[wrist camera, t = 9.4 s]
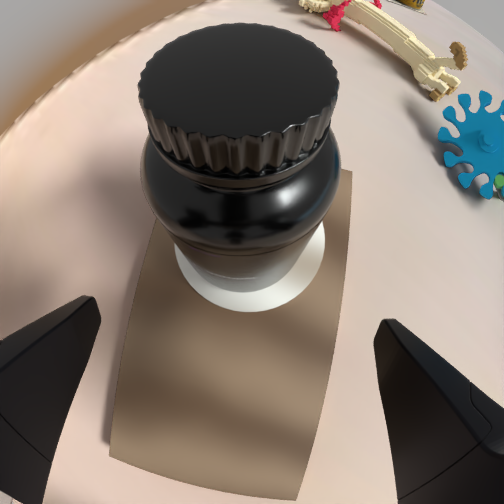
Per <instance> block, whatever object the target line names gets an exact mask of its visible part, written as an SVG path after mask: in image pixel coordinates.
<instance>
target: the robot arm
mask: <svg viewBox="0 0 504 504" xmlns="http://www.w3.org/2000/svg"><path fill="white" fill-rule="evenodd" d="M100 324H101V315H100V312H99V309H98V306H97V302H96V300H95V298H94V297H92V296H86V295H83V296H81V297H79V298H77V299H75V300H73V301H71V302H69V303H67V304H65V305H64V306H62V307H60V308H58V309H56V310H54V311H52V312H51V313H49V314H47V315H45V316H43V317H41V318H40V319H38V320H36V321H34V322H32V323H31V324H29V325H27V326H25V327H23V328H22V329H20V330H18V331H16V332H15V333H13V334H11V335H9V336H8V337H6V338H4V339H3V340H0V504H12V501H13V498H14V499H15V500H17V501H19V502H21V503H23V504H42V502H43V498H44V493H45V489H46V485H47V481H48V477H49V473H50V469H51V466H52V462H53V458H54V455H55V451H56V448H57V445H58V442H59V438H60V435H61V432H62V429H63V426H64V423H65V420H66V418H67V415H68V412H69V409H70V406H71V404H72V401H73V398H74V396H75V393H76V390H77V388H78V385H79V383H80V380H81V378H82V375H83V373H84V371H85V368H86V366H87V363H88V360H89V358H90V355H91V351H92V348H93V345H94V342H95V339H96V336H97V333H98V330H99V327H100ZM374 352H375V360H376V368H377V377H378V385H379V390H380V395H381V400H382V405H383V410H384V414H385V420H386V425H387V430H388V436H389V442H390V448H391V454H392V460H393V467H394V474H395V482H396V490H397V499H398V504H504V408H503V407H501V406H500V405H499V404H497V403H496V402H495V401H493V400H492V399H491V398H490V397H488V396H487V395H486V394H485V393H484V392H482V391H481V390H480V389H479V388H478V387H477V386H475V385H474V384H473V383H472V382H470V381H469V380H468V379H467V378H466V377H465V376H464V375H463V374H461V373H460V372H459V371H458V370H457V369H456V368H454V367H453V366H452V365H451V364H450V363H448V362H447V361H446V360H445V359H444V358H442V357H441V356H440V355H439V354H438V353H436V352H435V351H434V350H433V349H432V348H430V347H429V346H428V345H427V344H426V343H424V342H423V341H422V340H421V339H419V338H418V337H417V336H416V335H415V334H413V333H412V332H411V331H410V330H408V329H407V328H406V327H405V326H403V325H402V324H401V323H400V322H398V321H397V320H396V319H383V320H382V321H381V323H380V325H379V328H378V330H377V333H376V335H375V338H374Z"/></svg>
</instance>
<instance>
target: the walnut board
mask: <svg viewBox="0 0 504 504" xmlns="http://www.w3.org/2000/svg"><path fill="white" fill-rule="evenodd" d="M351 194H352V171H348V170H344V169H341V177H340V183H339V187H338V190H337V193H336V195H335V198H334V200H333V202H332V204H331V206H330V208H329V210H328V212H327V214H326V215H325V217H324V219H323V220H322V222H321V224H320V225H319V227H318V228H317V230H316V232H315V233H314V235H313V236H312V238H311V240H310V241H309V243H308V244H307V246H306V248H305V249H304V251H303V252H302V254H301V255H300V257H299V259H298V260H297V262H296V263H295V265H294V266H293V267H292V269H291V270H290V271H289V272H288V273H287V274H286V275H285V276H284V277H283V278H282V279H281V280H279V281H278V282H276V283H275V284H273V285H271V286H269V287H267V288H265V289H262V290H258V291H254V292H245V293H240V292H231V291H227V290H223V289H221V288H218V287H216V286H214V285H212V284H211V283H209V282H207V281H206V280H205V279H204V278H202V277H201V276H200V275H199V274H198V273H197V272H196V270H195V269H194V268H193V267H192V266H191V264H190V263H189V262H188V260H187V259H186V258H185V256H184V255H183V254H182V252H181V251H180V250H179V248H178V247H177V245H176V244H175V243H174V241H173V240H172V239H171V237H170V236H169V234H168V233H167V232H166V230H165V229H164V227H163V226H162V225H161V223H160V222H159V220H158V219H156V222H155V225H154V228H153V231H152V235H151V238H150V241H149V245H148V248H147V252H146V255H145V259H144V262H143V266H142V270H141V273H140V277H139V281H138V285H137V289H136V293H135V297H134V301H133V305H132V310H131V314H130V319H129V323H128V328H127V333H126V338H125V343H124V348H123V353H122V358H121V364H120V370H119V376H118V382H117V389H116V396H115V403H114V411H113V419H112V428H111V438H110V450H109V456H110V457H113V458H115V459H117V460H120V461H122V462H125V463H127V464H130V465H132V466H135V467H137V468H140V469H143V470H146V471H148V472H151V473H154V474H157V475H160V476H164V477H167V478H170V479H173V480H177V481H180V482H184V483H188V484H191V485H195V486H199V487H204V488H208V489H213V490H217V491H222V492H228V493H233V494H239V495H245V496H252V497H260V498H269V499H279V500H293V501H296V499H297V496H298V493H299V490H300V487H301V484H302V481H303V477H304V474H305V471H306V468H307V464H308V461H309V457H310V454H311V450H312V447H313V443H314V439H315V435H316V432H317V428H318V424H319V420H320V416H321V411H322V407H323V403H324V398H325V394H326V389H327V384H328V380H329V375H330V370H331V364H332V359H333V354H334V348H335V342H336V336H337V330H338V324H339V317H340V310H341V303H342V296H343V288H344V280H345V271H346V261H347V251H348V240H349V227H350V213H351Z"/></svg>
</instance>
